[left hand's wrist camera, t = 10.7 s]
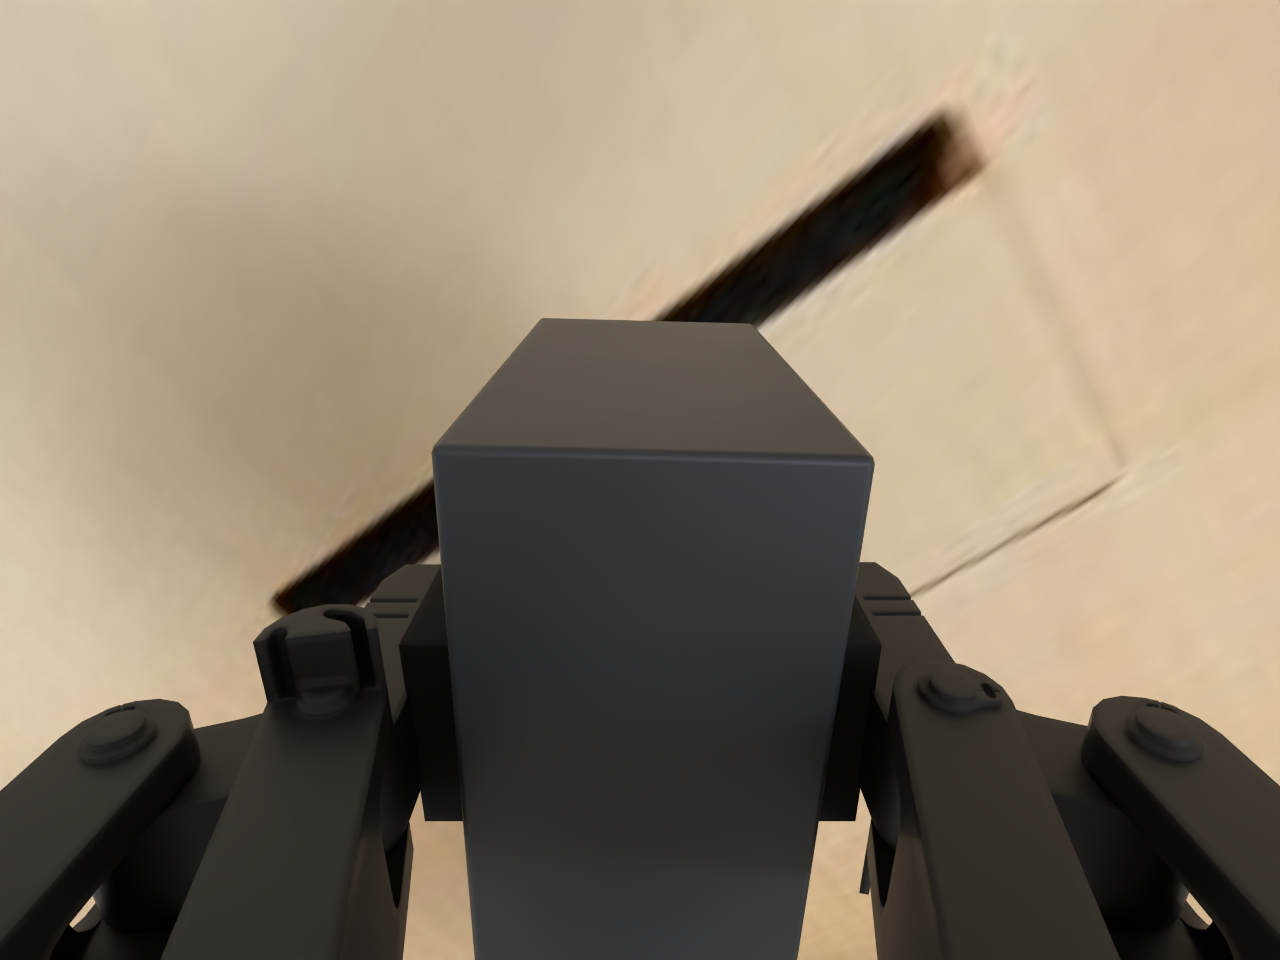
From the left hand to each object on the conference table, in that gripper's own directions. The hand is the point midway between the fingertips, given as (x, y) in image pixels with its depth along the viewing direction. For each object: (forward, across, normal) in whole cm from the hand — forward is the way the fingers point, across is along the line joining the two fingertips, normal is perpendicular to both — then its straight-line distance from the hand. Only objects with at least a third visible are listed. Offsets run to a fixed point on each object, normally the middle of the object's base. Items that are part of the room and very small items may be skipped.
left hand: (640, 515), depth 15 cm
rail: (0, 0, -12) cm, 12 cm away
